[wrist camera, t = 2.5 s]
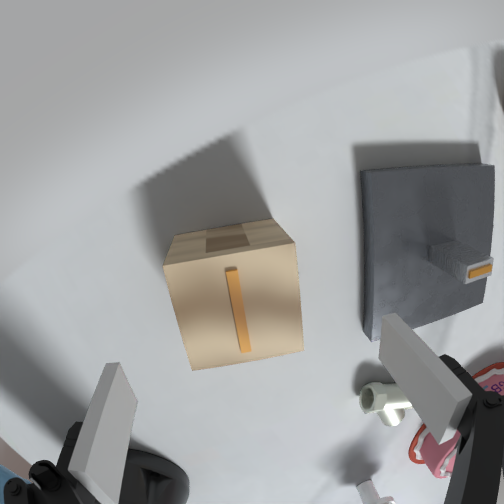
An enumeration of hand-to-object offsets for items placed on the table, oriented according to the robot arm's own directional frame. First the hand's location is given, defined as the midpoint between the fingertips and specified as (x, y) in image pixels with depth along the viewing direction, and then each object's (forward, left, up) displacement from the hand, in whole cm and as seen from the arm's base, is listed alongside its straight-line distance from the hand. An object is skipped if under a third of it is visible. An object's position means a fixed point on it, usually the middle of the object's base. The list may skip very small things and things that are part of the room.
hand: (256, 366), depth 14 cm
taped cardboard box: (0, 0, -13) cm, 13 cm away
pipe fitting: (+15, -21, -13) cm, 29 cm away
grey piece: (+20, -1, -13) cm, 23 cm away
